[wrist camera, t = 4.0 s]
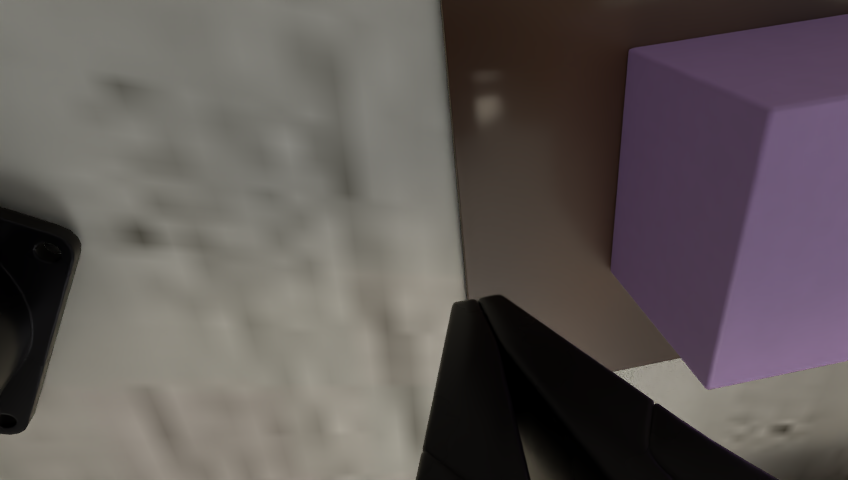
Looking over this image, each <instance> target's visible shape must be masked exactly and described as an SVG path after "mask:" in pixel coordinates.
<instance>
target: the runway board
mask: <svg viewBox="0 0 848 480" xmlns="http://www.w3.org/2000/svg"><path fill="white" fill-rule="evenodd" d="M440 4H441V16H442V27H443V38H444V49H445V60H446V71H447V82H448V93H449V104H450V115H451V126H452V137H453V148H454V159H455V170H456V181H457V192H458V203H459V214H460V225H461V236H462V247H463V258H464V269H465V280H466V291H467V300H469V299H475V300H477V301H478V299H479V298H481V297H485V296H491V295H496V294H500V295H503V296H504V297H506V298H507V299H509V300H510V301H512V302H513V303H514V304H516V305H517V306H519V307H520V308H522V309H523V310H524V311H526V312H527V313H529V314H530V315H532V316H533V317H534V318H536V319H537V320H539V321H540V322H542V323H543V324H544V325H546V326H547V327H549V328H550V329H552V330H553V331H554V332H556V333H557V334H559V335H560V336H562V337H563V338H565V339H566V340H567V341H569V342H570V343H572V344H573V345H575V346H576V347H577V348H579V349H580V350H582V351H583V352H585V353H586V354H587V355H589V356H590V357H592V358H593V359H595V360H596V361H597V362H599V363H600V364H602V365H603V366H605V367H606V368H607V369H609V370H610V371H612V372H614V371H619V370H623V369H628V368H633V367H638V366H643V365H648V364H653V363H658V362H663V361H668V360H673V359H678V358H681V357H680V356H679V355H678V354H677V352H676V351H675V350H674V349H673V347H672V346H671V345H670V344H669V343H668V341H667V340H666V339H665V338H664V336H663V335H662V334H661V333H660V331H659V330H658V329H657V328H656V327H655V325H654V324H653V323H652V322H651V320H650V319H649V318H648V317H647V315H646V314H645V313H644V312H643V311H642V309H641V308H640V307H639V306H638V304H637V303H636V302H635V301H634V299H633V298H632V297H631V296H630V294H629V293H628V292H627V291H626V290H625V288H624V287H623V286H622V285H621V283H620V282H619V281H618V280H617V278H616V277H615V276H614V275H613V274H612V272H611V257H612V245H613V233H614V220H615V208H616V196H617V184H618V172H619V160H620V148H621V136H622V124H623V111H624V99H625V87H626V75H627V63H628V52H629V50H630V49H632V48H636V47H642V46H648V45H655V44H661V43H667V42H674V41H680V40H686V39H693V38H699V37H705V36H712V35H718V34H724V33H731V32H737V31H743V30H750V29H756V28H762V27H769V26H775V25H781V24H788V23H794V22H800V21H807V20H813V19H819V18H826V17H832V16H838V15H845V14H848V0H440Z"/></svg>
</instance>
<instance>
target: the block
mask: <svg viewBox="0 0 848 480" xmlns="http://www.w3.org/2000/svg"><path fill="white" fill-rule="evenodd" d="M611 272H612V274H613V275H614V276H615V277H616V278H617V280H618V281H619V282H620V283H621V285H622V286H623V287H624V288H625V290H626V291H627V292H628V293H629V294H630V296H631V297H632V298H633V299H634V301H635V302H636V303H637V304H638V306H639V307H640V308H641V309H642V311H643V312H644V313H645V314H646V315H647V317H648V318H649V319H650V320H651V322H652V323H653V324H654V325H655V327H656V328H657V329H658V330H659V331H660V333H661V334H662V335H663V336H664V338H665V339H666V340H667V341H668V343H669V344H670V345H671V346H672V347H673V349H674V350H675V351H676V352H677V354H678V355H679V356H680V357H681V359H682V360H683V361H684V362H685V363H686V365H687V366H688V367H689V368H690V370H691V371H692V372H693V373H694V375H695V376H696V377H697V378H698V380H699V381H700V382H701V383H702V384H703V386H704V387H705V388H706V389H715V388H720V387H725V386H729V385H734V384H739V383H744V382H748V381H753V380H758V379H763V378H768V377H772V376H777V375H782V374H787V373H792V372H796V371H801V370H806V369H811V368H816V367H820V366H825V365H830V364H835V363H839V362H844V361H848V14H845V15H838V16H832V17H826V18H819V19H813V20H807V21H800V22H794V23H788V24H781V25H775V26H769V27H762V28H756V29H750V30H743V31H737V32H731V33H724V34H718V35H712V36H705V37H699V38H693V39H686V40H680V41H674V42H667V43H661V44H655V45H648V46H642V47H636V48H632V49H630V50H629V52H628V63H627V75H626V87H625V99H624V111H623V124H622V136H621V148H620V160H619V172H618V184H617V196H616V208H615V220H614V233H613V245H612V257H611Z"/></svg>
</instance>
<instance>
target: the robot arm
mask: <svg viewBox="0 0 848 480" xmlns="http://www.w3.org/2000/svg"><path fill="white" fill-rule="evenodd" d="M44 243H49V244H53V245H55V246H56V247H58V248H59V250H60V251H61V254H60V253H53V252H51V251H49V250H48V249H47V248H46V247H45V246H44ZM80 253H81V243H80V241H79V239H78V237H77V236H76V235H75V234H74V233H73V232H72V231H71V230H69V229H67V228H65V227H63V226H60V225H57V224H54V223H51V222H48V221H44V220H41V219H38V218H35V217H32V216H29V215H25V214H22V213H19V212H16V211H13V210H9V209H6V208H3V207H0V434H9V435H12V434H17V433H20V432H22V431H24V430H25V429H26V427H27V426H28V424H29V422H30V421H31V419H32V417H33V416H34V414H35V411H36V407H37V404H38V400H39V397H40V393H41V390H42V386H43V383H44V379H45V376H46V372H47V369H48V365H49V362H50V358H51V355H52V351H53V348H54V344H55V341H56V337H57V334H58V330H59V327H60V323H61V320H62V316H63V313H64V309H65V306H66V302H67V299H68V295H69V292H70V288H71V285H72V281H73V278H74V274H75V271H76V267H77V264H78V260H79V257H80ZM416 480H779V479H777V478H775V477H773V476H772V475H770V474H768V473H766V472H765V471H763V470H761V469H760V468H758V467H756V466H754V465H753V464H751V463H749V462H748V461H746V460H744V459H743V458H741V457H739V456H738V455H736V454H734V453H733V452H731V451H729V450H728V449H726V448H724V447H723V446H721V445H719V444H718V443H716V442H714V441H713V440H711V439H710V438H708V437H707V436H705V435H704V434H702V433H701V432H699V431H698V430H696V429H695V428H693V427H692V426H690V425H689V424H687V423H685V422H684V421H682V420H681V419H679V418H678V417H677V416H675V415H674V414H672V413H671V412H669V411H668V410H667V409H665V408H664V407H662V406H661V405H659V404H654V401H653V400H652V399H650V398H649V397H648V396H646V395H645V394H643V393H642V392H640V391H639V390H638V389H636V388H635V387H633V386H632V385H630V384H629V383H628V382H626V381H625V380H623V379H622V378H620V377H619V376H617V375H616V374H615V373H613V372H612V371H610V370H609V369H607V368H606V367H605V366H603V365H602V364H600V363H599V362H597V361H596V360H595V359H593V358H592V357H590V356H589V355H587V354H586V353H585V352H583V351H582V350H580V349H579V348H577V347H576V346H575V345H573V344H572V343H570V342H569V341H567V340H566V339H565V338H563V337H562V336H560V335H559V334H557V333H556V332H554V331H553V330H552V329H550V328H549V327H547V326H546V325H544V324H543V323H542V322H540V321H539V320H537V319H536V318H534V317H533V316H532V315H530V314H529V313H527V312H526V311H524V310H523V309H522V308H520V307H519V306H517V305H516V304H514V303H513V302H512V301H510V300H509V299H507V298H506V297H504V296H503V295H500V294H496V295H491V296H485V297H481V298H479V299H478V301H477V300H475V299H469V300H464V301H459V302H455V303H454V304H453V305H452V310H451V314H450V319H449V324H448V329H447V334H446V339H445V343H444V348H443V353H442V358H441V363H440V368H439V372H438V377H437V382H436V387H435V392H434V397H433V401H432V406H431V411H430V416H429V421H428V426H427V430H426V435H425V440H424V445H423V453H422V454H421V458H420V463H419V467H418V472H417V477H416Z"/></svg>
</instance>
